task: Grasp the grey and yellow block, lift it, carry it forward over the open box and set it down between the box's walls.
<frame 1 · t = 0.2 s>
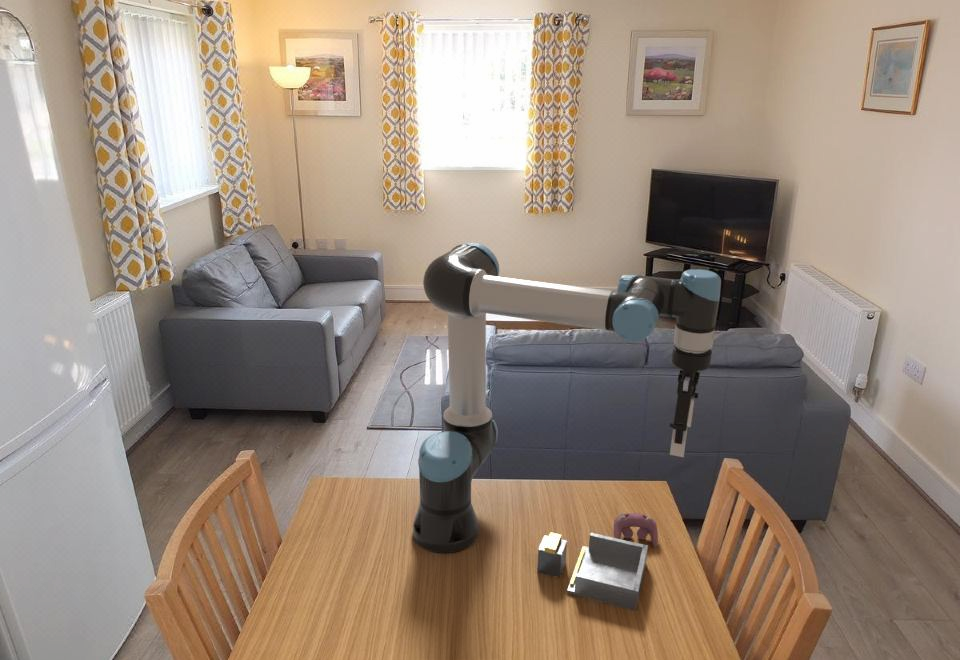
hand: (680, 439, 146), 28 cm above the table, fingers open, 13 cm apart
grey and yellow block: (551, 567, 149), on the table
video game controller: (634, 540, 158), on the table
open box: (607, 578, 146), on the table
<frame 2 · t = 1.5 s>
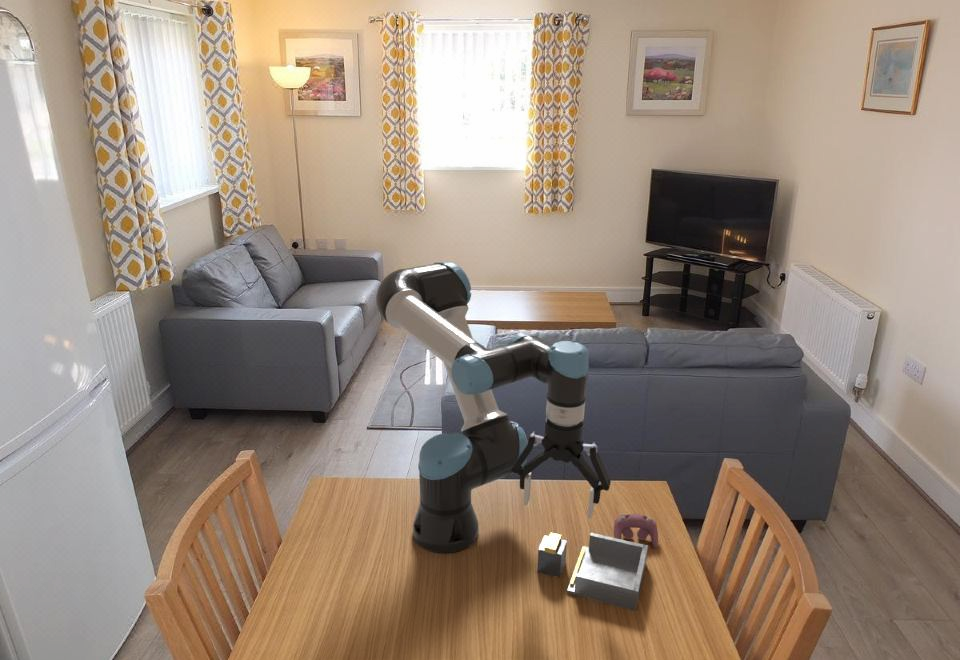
hand: (558, 508, 144), 15 cm above the table, fingers open, 13 cm apart
nothing on the table moved.
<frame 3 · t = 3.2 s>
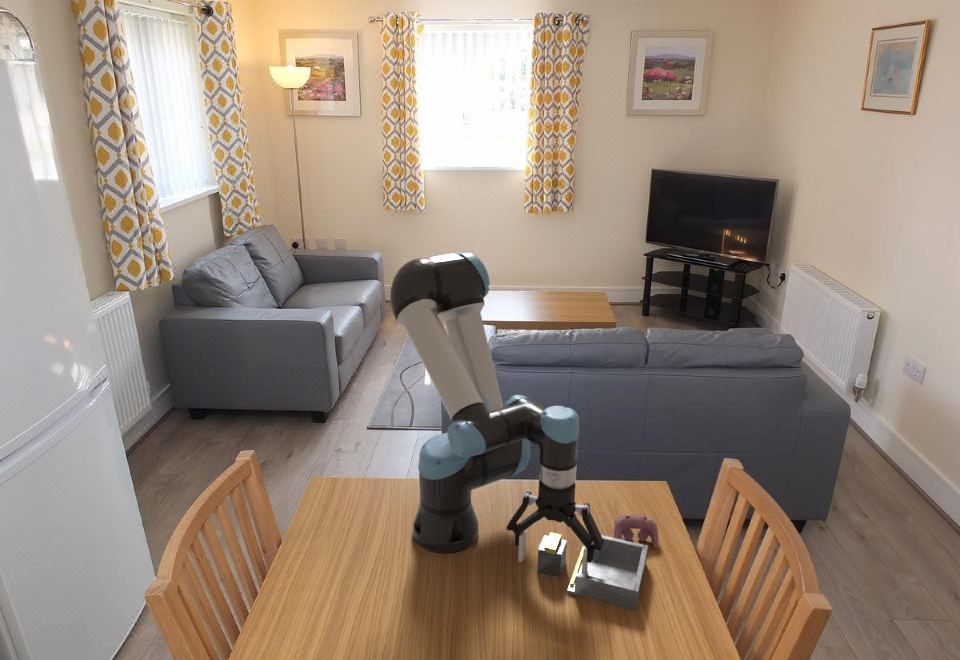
hand: (552, 565, 148), 1 cm above the table, fingers open, 13 cm apart
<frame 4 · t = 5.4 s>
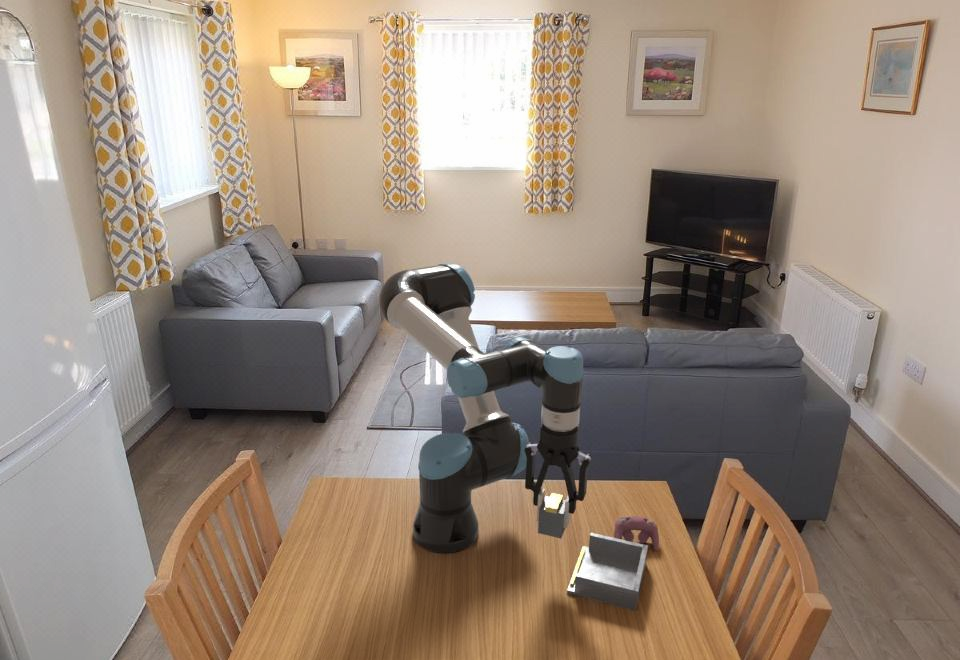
hand: (553, 520, 145), 12 cm above the table, fingers closed on grey and yellow block, 5 cm apart
grey and yellow block: (552, 528, 145), point 10 cm above the table, touching gripper
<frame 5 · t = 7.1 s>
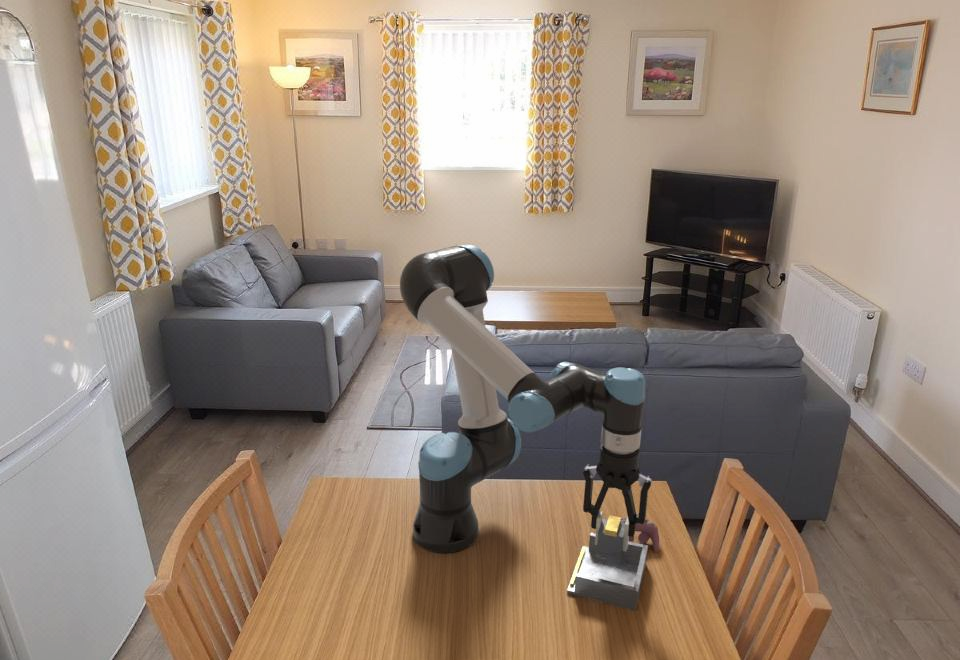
hand: (611, 544, 143), 9 cm above the table, fingers closed on grey and yellow block, 5 cm apart
grey and yellow block: (610, 552, 143), point 7 cm above the table, touching gripper
when the fingers open (2 cm above the table, at t = 9.0 s): grey and yellow block stays where it is, resting on open box.
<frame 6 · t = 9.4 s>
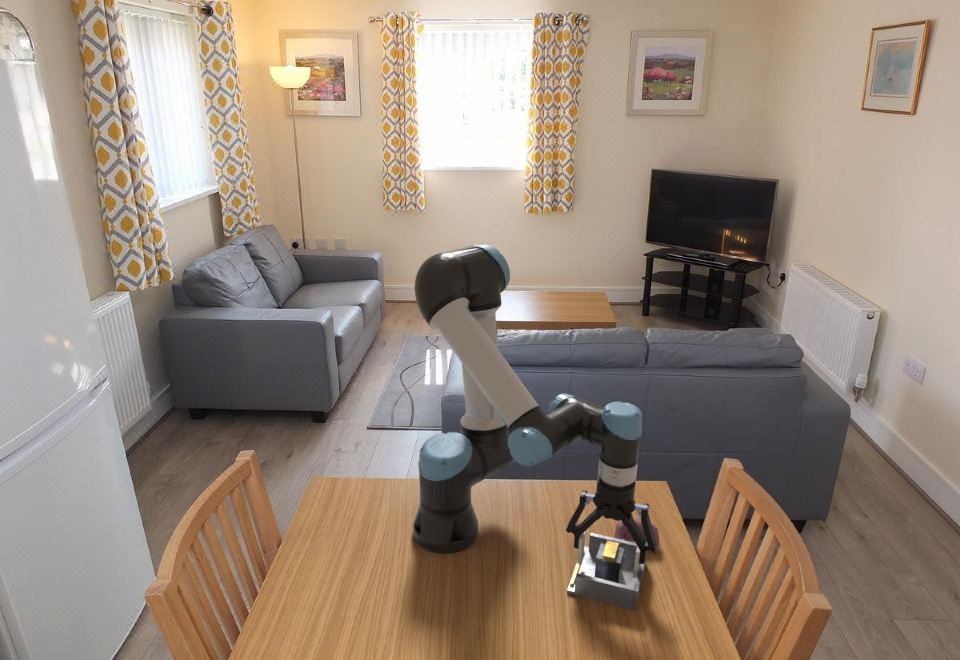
hand: (607, 567, 145), 3 cm above the table, fingers open, 11 cm apart
grey and yellow block: (608, 576, 145), point 1 cm above the table, touching open box
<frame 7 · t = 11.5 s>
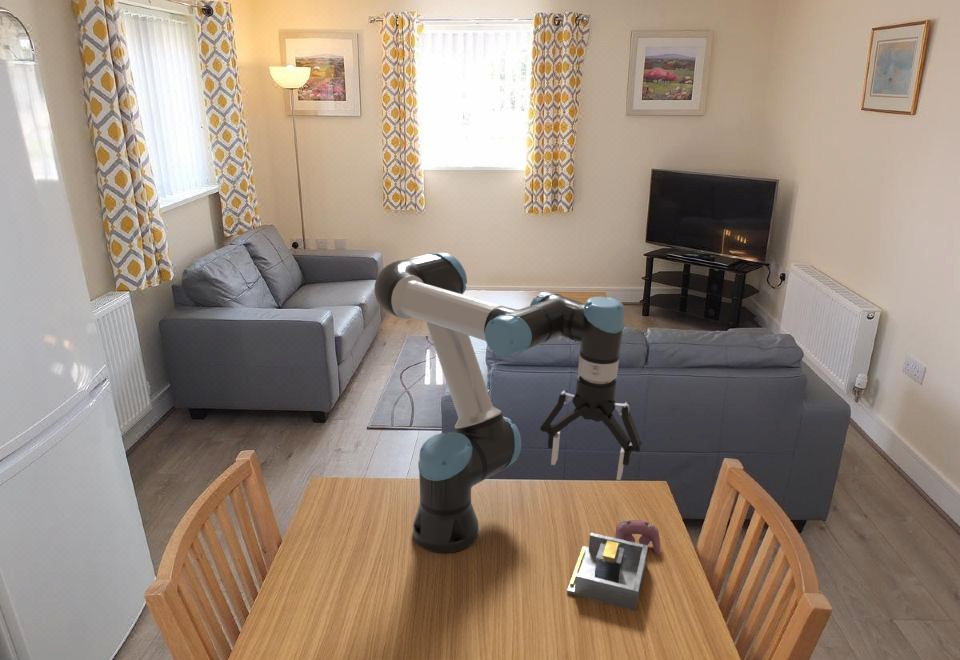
hand: (586, 469, 142), 24 cm above the table, fingers open, 13 cm apart
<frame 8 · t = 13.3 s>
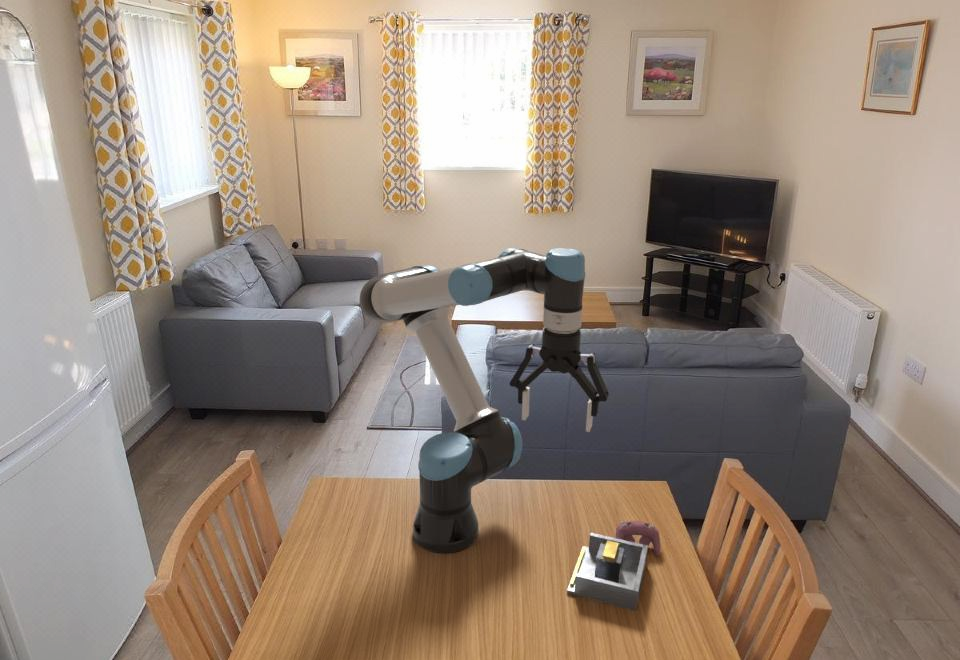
hand: (556, 423, 144), 32 cm above the table, fingers open, 13 cm apart
at the end: grey and yellow block inside the target area on the open box (0.4 cm from its centre), point 0.8 cm above the open box's base; grey and yellow block tilted 0°; the gripper is holding nothing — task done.
